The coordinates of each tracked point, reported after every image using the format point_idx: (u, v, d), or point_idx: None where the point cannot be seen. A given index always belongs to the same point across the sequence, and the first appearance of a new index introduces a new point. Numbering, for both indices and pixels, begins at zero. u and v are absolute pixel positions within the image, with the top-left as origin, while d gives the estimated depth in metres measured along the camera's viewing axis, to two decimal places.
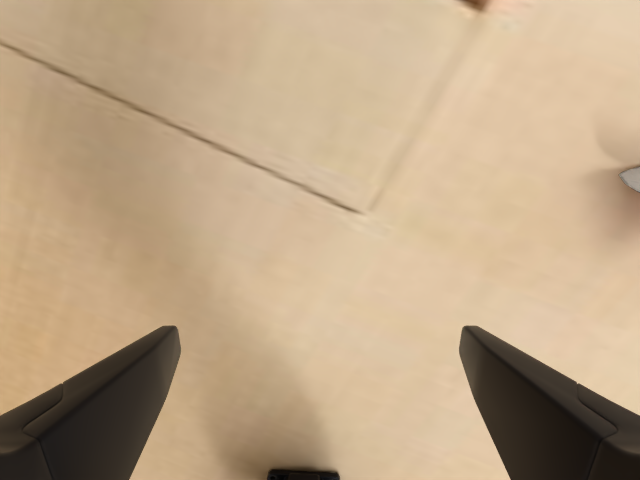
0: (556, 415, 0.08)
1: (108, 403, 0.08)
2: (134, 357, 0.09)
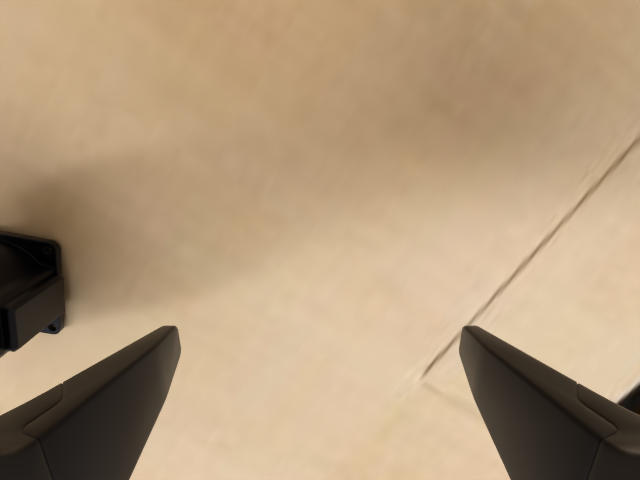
0: (556, 415, 0.08)
1: (108, 403, 0.08)
2: (134, 357, 0.09)
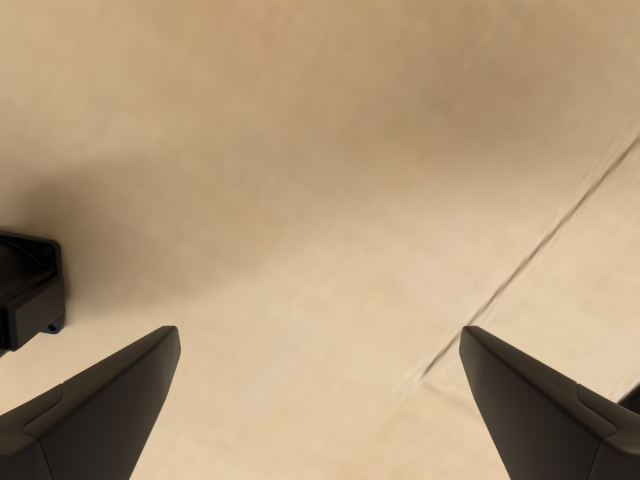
0: (556, 415, 0.08)
1: (108, 403, 0.08)
2: (134, 357, 0.09)
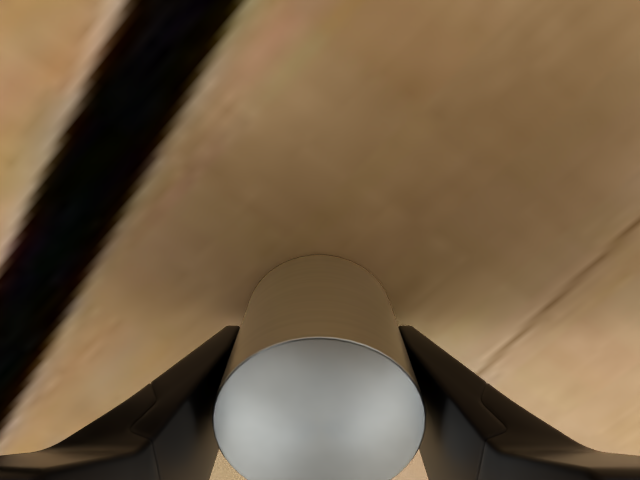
0: (456, 415, 0.08)
1: (197, 403, 0.08)
2: (211, 357, 0.09)
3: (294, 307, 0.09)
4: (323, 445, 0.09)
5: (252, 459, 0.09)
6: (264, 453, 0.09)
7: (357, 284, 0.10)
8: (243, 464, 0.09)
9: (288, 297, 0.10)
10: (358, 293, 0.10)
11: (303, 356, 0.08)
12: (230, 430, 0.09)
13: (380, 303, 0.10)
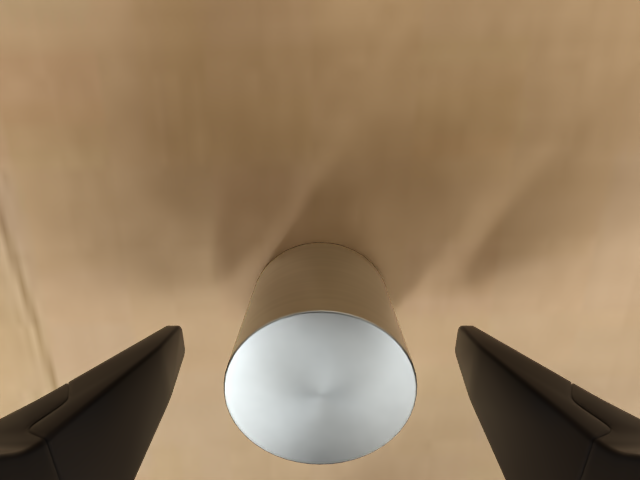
0: (550, 415, 0.08)
1: (113, 403, 0.08)
2: (139, 357, 0.09)
3: (297, 286, 0.10)
4: (324, 411, 0.10)
5: (260, 424, 0.10)
6: (270, 419, 0.10)
7: (355, 268, 0.11)
8: (251, 429, 0.10)
9: (292, 278, 0.10)
10: (356, 276, 0.11)
11: (306, 327, 0.09)
12: (240, 397, 0.09)
13: (377, 285, 0.11)
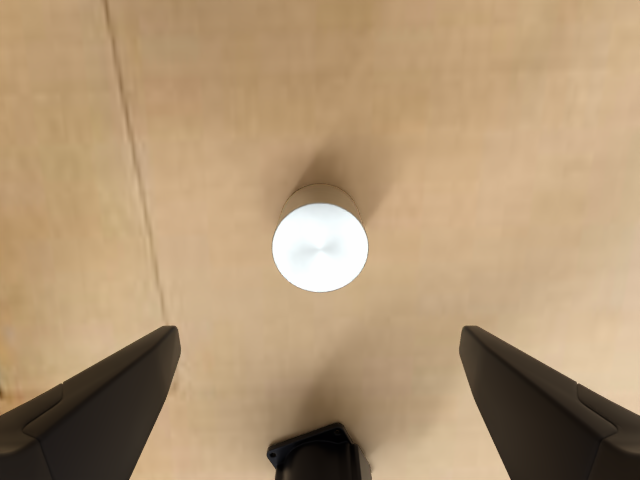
0: (556, 415, 0.08)
1: (108, 403, 0.08)
2: (134, 357, 0.09)
3: (308, 197, 0.19)
4: (322, 259, 0.19)
5: (289, 267, 0.19)
6: (295, 263, 0.19)
7: (339, 193, 0.21)
8: (285, 270, 0.19)
9: (305, 195, 0.20)
10: (339, 196, 0.20)
11: (313, 211, 0.18)
12: (280, 250, 0.19)
13: (351, 202, 0.21)
